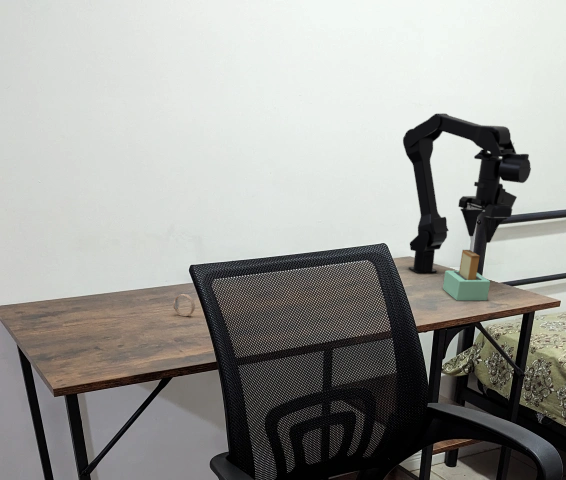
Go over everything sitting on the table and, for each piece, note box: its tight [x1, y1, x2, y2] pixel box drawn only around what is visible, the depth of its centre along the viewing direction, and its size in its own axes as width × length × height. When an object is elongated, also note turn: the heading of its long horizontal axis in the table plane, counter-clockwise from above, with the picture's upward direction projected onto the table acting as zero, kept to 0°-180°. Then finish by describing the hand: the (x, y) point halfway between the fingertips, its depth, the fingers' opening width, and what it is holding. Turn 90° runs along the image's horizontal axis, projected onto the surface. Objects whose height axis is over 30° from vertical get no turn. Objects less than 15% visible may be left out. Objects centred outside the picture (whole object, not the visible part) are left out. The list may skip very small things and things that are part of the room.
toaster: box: [442, 270, 491, 301], centre depth 194 cm, size 12×10×5 cm
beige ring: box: [172, 293, 196, 317], centre depth 169 cm, size 3×5×5 cm, turn 70°
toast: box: [458, 249, 481, 280], centre depth 193 cm, size 8×2×10 cm, turn 7°
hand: (479, 239), depth 201 cm, fingers open, 9 cm apart
